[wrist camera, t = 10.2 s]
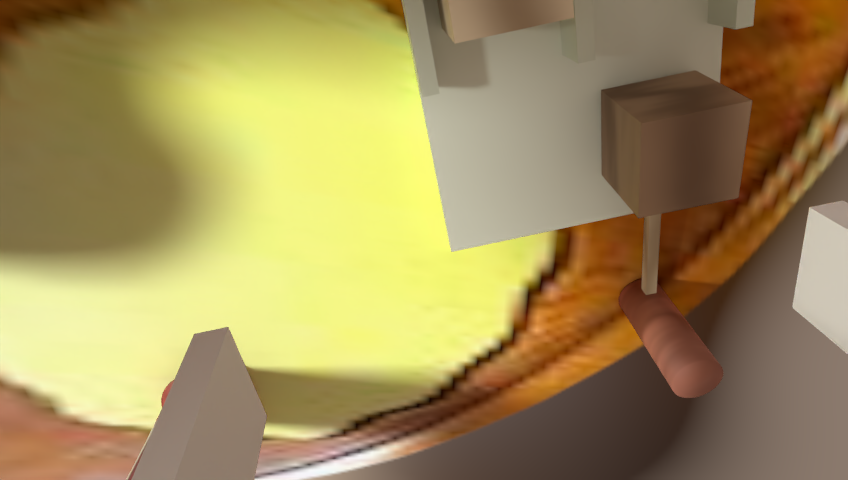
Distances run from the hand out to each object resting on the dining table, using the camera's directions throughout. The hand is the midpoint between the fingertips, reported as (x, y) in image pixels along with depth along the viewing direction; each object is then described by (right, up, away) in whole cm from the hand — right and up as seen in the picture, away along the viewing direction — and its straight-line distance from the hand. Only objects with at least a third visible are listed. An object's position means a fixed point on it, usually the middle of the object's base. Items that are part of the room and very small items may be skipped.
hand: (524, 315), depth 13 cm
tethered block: (+13, +4, +27) cm, 31 cm away
